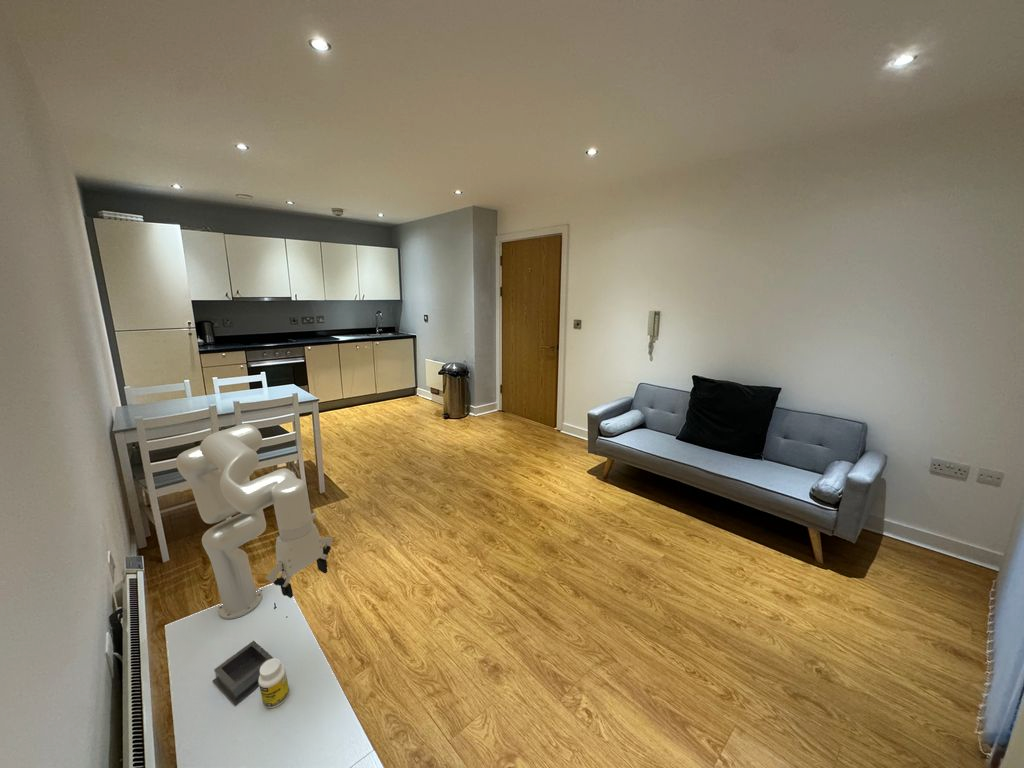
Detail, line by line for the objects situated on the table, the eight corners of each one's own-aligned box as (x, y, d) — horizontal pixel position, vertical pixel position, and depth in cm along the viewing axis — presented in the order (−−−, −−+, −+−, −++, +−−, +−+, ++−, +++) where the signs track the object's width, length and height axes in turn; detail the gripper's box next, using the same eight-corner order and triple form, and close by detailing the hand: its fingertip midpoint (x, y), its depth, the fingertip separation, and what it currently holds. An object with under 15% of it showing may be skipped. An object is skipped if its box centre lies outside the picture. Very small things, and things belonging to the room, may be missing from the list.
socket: (212, 682, 112) (209, 670, 110) (257, 648, 121) (255, 637, 120) (235, 706, 106) (231, 693, 104) (280, 668, 116) (277, 656, 114)
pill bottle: (259, 711, 104) (251, 680, 101) (268, 688, 110) (261, 657, 107) (285, 706, 106) (278, 675, 102) (293, 683, 111) (286, 653, 108)
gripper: (318, 505, 110) (326, 557, 115) (251, 541, 96) (264, 599, 100) (335, 514, 106) (343, 567, 111) (269, 553, 92) (282, 612, 97)
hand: (306, 582), depth 106 cm, fingers open, 9 cm apart
